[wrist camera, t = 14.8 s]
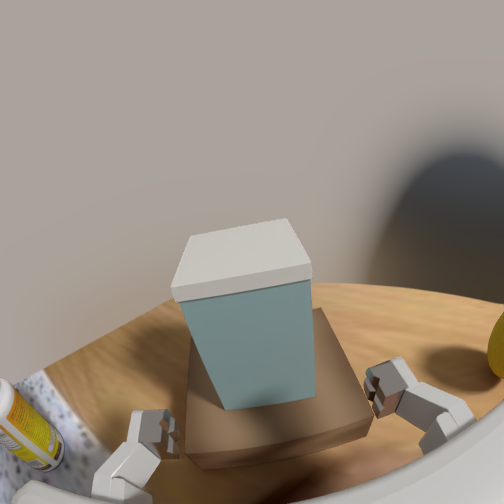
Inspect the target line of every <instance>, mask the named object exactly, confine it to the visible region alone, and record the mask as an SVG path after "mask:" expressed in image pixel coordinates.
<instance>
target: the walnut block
mask: <svg viewBox="0 0 504 504" xmlns="http://www.w3.org/2000/svg"><path fill="white" fill-rule="evenodd" d="M312 314H313V332H314V355H315V395H316V396H315V397H310V398H306V399H301V400H296V401H290V402H285V403H279V404H273V405H267V406H260V407H252V408H244V409H235V410H225V408H224V406H223V404H222V402H221V400H220V398H219V396H218V394H217V392H216V390H215V387H214V385H213V383H212V381H211V379H210V377H209V374H208V372H207V370H206V368H205V365H204V363H203V361H202V359H201V356H200V354H199V352H198V349H197V347H196V345H195V342H194V340H193V337H191V348H190V360H189V373H188V388H187V406H186V427H185V454H186V455H187V456H188V457H189V458H190V459H191V460H192V461H193V462H194V463H195V464H196V465H197V466H199V467H200V468H201V469H202V470H204V469H220V468H232V467H241V466H249V465H256V464H263V463H269V462H274V461H280V460H285V459H289V458H294V457H299V456H303V455H307V454H311V453H315V452H319V451H322V450H326V449H329V448H333V447H336V446H339V445H342V444H345V443H348V442H351V441H354V440H357V439H360V438H363V437H365V436H367V433H368V431H369V428H370V426H371V423H372V421H373V418H374V413H373V411H372V409H371V406H370V404H369V402H368V400H367V398H366V396H365V394H364V392H363V390H362V388H361V386H360V384H359V382H358V379H357V377H356V375H355V373H354V371H353V369H352V367H351V365H350V363H349V361H348V359H347V357H346V355H345V353H344V351H343V349H342V347H341V345H340V343H339V341H338V340H337V338H336V336H335V334H334V332H333V330H332V328H331V326H330V324H329V322H328V320H327V318H326V316H325V314H324V312H323V311H322V309H321V308H317V309H312Z"/></svg>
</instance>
